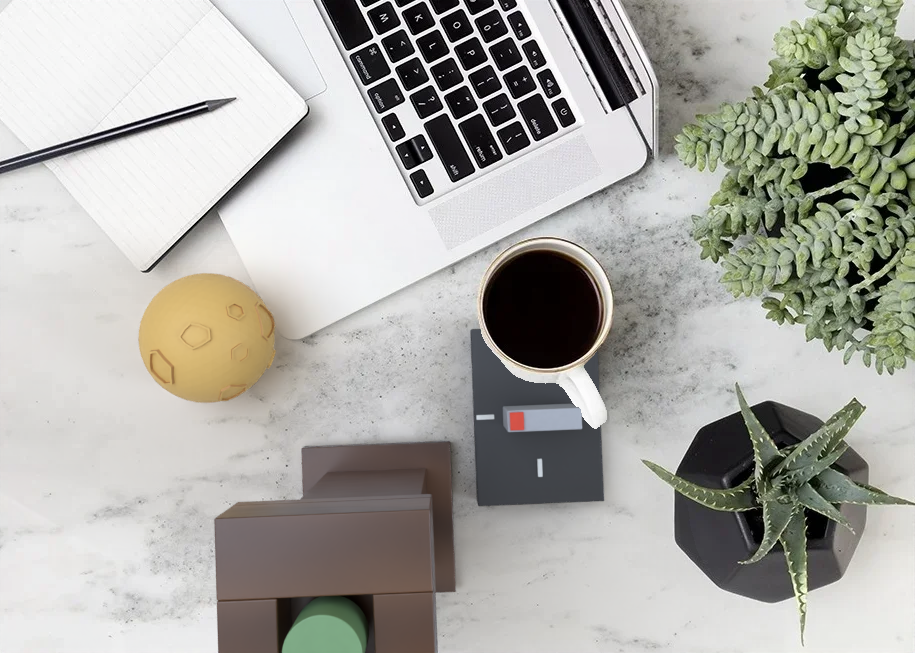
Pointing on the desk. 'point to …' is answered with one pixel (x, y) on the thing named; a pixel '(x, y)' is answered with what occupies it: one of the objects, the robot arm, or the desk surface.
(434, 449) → the post
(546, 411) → the block
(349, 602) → the green button
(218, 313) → the stress ball
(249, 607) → the brown blocky frame
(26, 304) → the desk surface
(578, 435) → the gadget
